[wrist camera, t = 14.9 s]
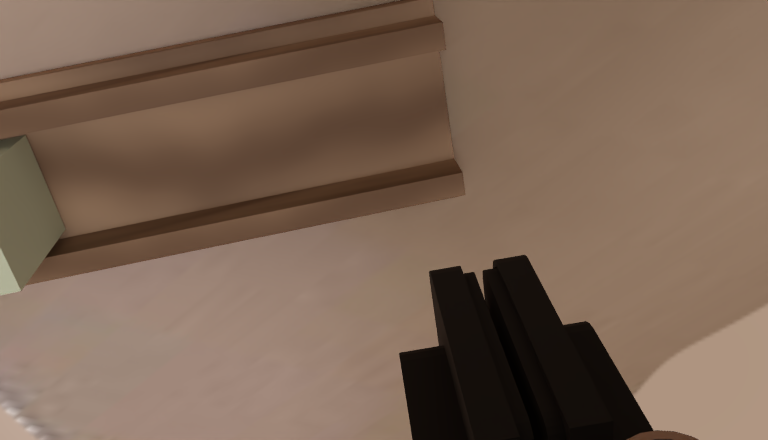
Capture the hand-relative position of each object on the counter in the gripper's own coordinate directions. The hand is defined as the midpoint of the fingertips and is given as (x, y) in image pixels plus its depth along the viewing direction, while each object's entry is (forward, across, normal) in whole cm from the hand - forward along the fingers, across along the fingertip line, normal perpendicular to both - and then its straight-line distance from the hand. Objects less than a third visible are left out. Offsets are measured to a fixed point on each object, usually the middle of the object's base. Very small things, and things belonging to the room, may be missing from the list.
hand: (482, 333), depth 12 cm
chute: (+23, +11, +4) cm, 26 cm away
